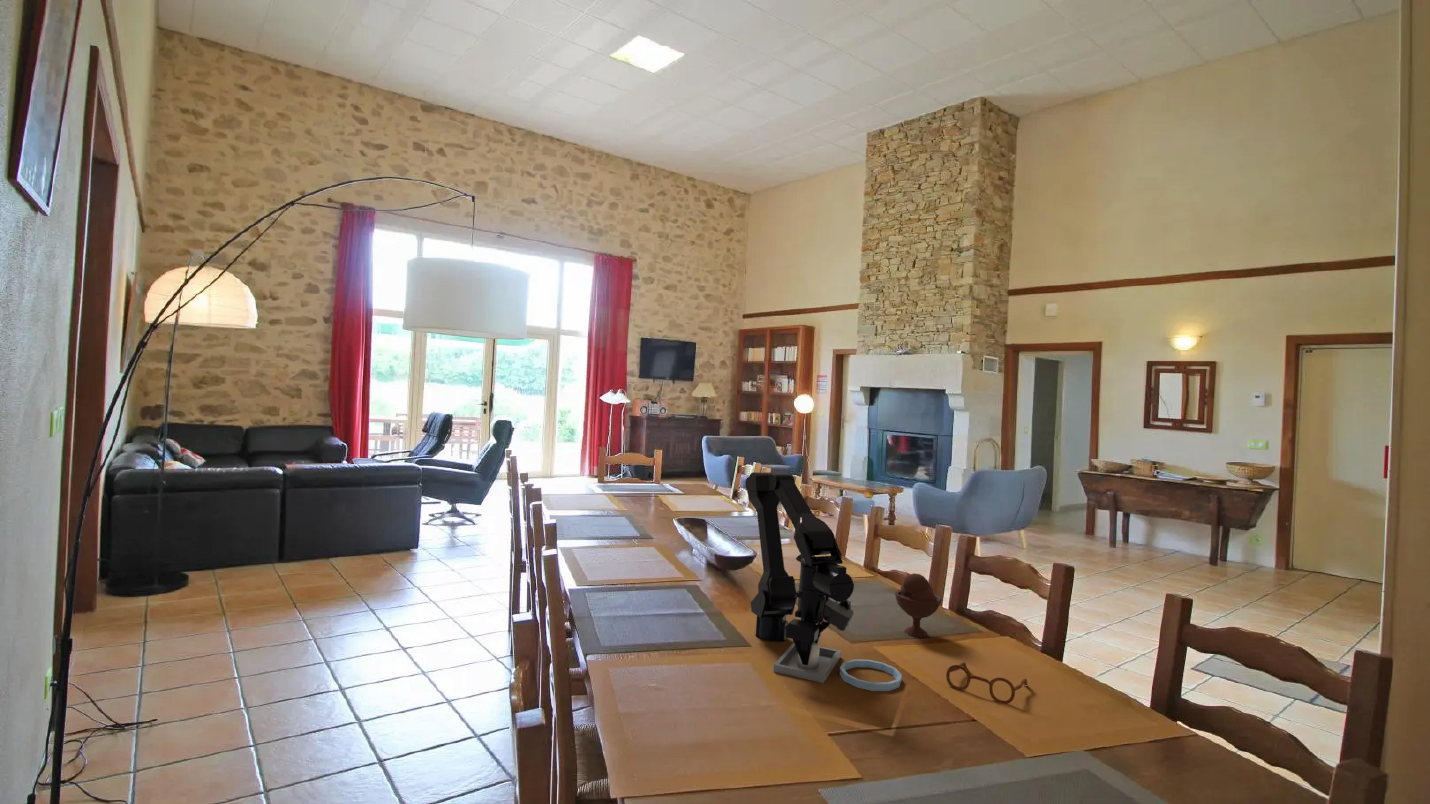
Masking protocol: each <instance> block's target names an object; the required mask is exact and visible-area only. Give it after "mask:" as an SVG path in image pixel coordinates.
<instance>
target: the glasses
mask: <svg viewBox="0 0 1430 804" xmlns="http://www.w3.org/2000/svg"><path fill="white" fill-rule="evenodd" d="M967 668H968V667H967V663H966V662H965V661H962V662H960V663H959V664H953V665H951V666H949V667H948V668H947V670H946V674H945V677H946V682H947V684H948V685H949V686H950V687H951V688H952V689H955V690H959V691H964V690H966V689H967V688H968V687H969V685H970V682H971V681H972V680H971V679H974V680H978V681H981V682H984V683H986V684H988V688H989V689H988V691H989V695H990V697H991V698H992V700H994V701H995V702H997V703H1000V704H1002V705H1007V704H1010V703H1012V702H1013V700H1014V699H1015V696H1016V691H1018V690H1019V689H1021V688H1022V687H1023V685H1024V686H1025V685H1028V679H1027V678H1024V679H1022V680H1021V682H1020V683H1019V684H1017V685H1015V686H1014V684H1013V683H1012V682H1011V681H1010V680H1008V678H1004V677H995V678H992V679H991V680H989V679H987V678H985V677H981V676H978V675H971V673H970V671H969V670H968V669H967ZM959 670H962V671H963V672H964V673H965V675H966V683H965V685H964V686H957V685H955V684H953V683H952V681H951V678H950V674H951V673H952V672H956V671H959ZM998 681H999V682H1004V683H1006V684H1007V685H1008V686H1009V688H1010V690H1011V694H1010V697H1009V699H1006V700H1002V699H999V698H998V697H996V695H995V694H994V692H993V691H994V690H993V687H994V684H995V683H996V682H998Z"/></svg>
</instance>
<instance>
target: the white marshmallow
mask: <svg viewBox="0 0 1430 804" xmlns="http://www.w3.org/2000/svg"><path fill="white" fill-rule="evenodd" d="M820 647H821V645H820V644H819V643H818V644H817V643H814V642H813V646H812V650H811V654H810V659H809V663H808V665H803V664H802V661H801V659H800V656H799V653H798V665H800V666H801V667H804V668H817V667H818V666H819V652H820Z"/></svg>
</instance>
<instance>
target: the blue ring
mask: <svg viewBox="0 0 1430 804" xmlns="http://www.w3.org/2000/svg"><path fill="white" fill-rule="evenodd" d="M854 668H868V669H869V668H870V669H875V670H877V671H882V672H885V673H887V674H889V675H891V676H892V677H893V678H894V679H893V680H891V681H888V682H873V681H868V680H863V679H859V678H857V677H855V676H852V675H851V674H849V673H848V672H847V670H850V669H854ZM839 676H840V677H841V678H842V680H843V682H846V683H847V684H850V685H851V686H853V687H856V688H858V689H862V690H863V689H864V690H867V691H871V692H889V691H893V690H895V689H898V688H900V686H901V683H902V678H903V676H902V673H901V672H900V671H899V670H898V669H897V668H896V667H893V666H892V665H890V664H887V663H885V662H881V661H877V660H872V659H856V658H855V659H851V660H847V661H844V662H842V663H841V665H840V667H839Z"/></svg>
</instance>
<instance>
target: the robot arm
mask: <svg viewBox="0 0 1430 804" xmlns="http://www.w3.org/2000/svg"><path fill="white" fill-rule="evenodd" d="M744 485H745V489H746V492H747V497H748V500H749V502H750V503H751V505H752V507H754V509H755V511H756V514H757V515H756V516H757V525H758V533H759V534H758V535H759V541H760V542H759V543H760V552H761V560H762V568H763V569H762V571H763V572H762V575H761V577H760V579H759V582H758V585H757V594H756V595H755V596H754V598H752V600H751V601H750V610H751V612H752V614H754V615H755V616H756V622H755V625H756V627H755V637H756V638H759V639H760V640H763V641H766V642H779V643H781V642H782V643H783V642H785V641H786V640H787V639H791V640H792V641H793V643H794V644H795V646H796V648H797V651H798V653H799V656H800V659H801V661H802V664H803V665H808V663H809V659H810V654H811V650H812V646H813V642H814V643H817V644H819V641H820V638H821V635H822V633H823V632H824V631H825V630H826V629H827V628H829V626H830V625H832V626H834V627H835V628H836V629H838V630H839V631H842V632H844V631H846V629H847V628H848V626H849V624H850V622H851V620H852V618H853V616H854V610H853V609H852V604H851V601H849V600H848V599H849V598H851V596H852V595H853V592H854V589H855V584H854V581H853V578H852V576H851V575H850V574H848V573H847V567H846V566H844V565H842V564H843V558H842V556H843V554H842V552H841V550H840V548H839V546H838V545H839V544H838V543H837V539H836V537H835V534H834V532H833V530H832V529H831V528H830V526H829V525H828V524H827V523H826V522H825V521H823V520H822V519H820V518H818V516H817V517H816V516H815V514H814V513H813V511H812V509H811V508H810V506H809V505H808V503H807V501H806V500H805V498H804V496H803V494H802V493H801V491H800V489H799V488H798V486H797V484H796V481H795V477H794V475H793V474H790V473H777V472H775V471H774V472H773V471H772V472H771V471H769V472H768V471H767V472H760V471H759V472H758V471H757V472H755V471H754V472H751V473H750V474H749V476H747V477H746V479H745V483H744ZM779 504H781V506H782V508H783V510H784V511H785V513H786V515H787V517H788V518H789V520H790V522H791V524H792V526H793V529H794V533H793V539H794V542H795V545H796V548H797V549H798V551H799V555H797V556H796V558H795V560H796V561H797V562H799V563H800V568H799V569H800V570H799V586H798V587H799V588H798V591H797V589H796V580H795V578H794V576H793V575H789V574H788V572H787V570H786V569H785V562H784V554H783V553H784V552H783V545H782V538H781V530H780V521H779V513H778V507H779ZM797 598H798V602H797ZM831 599H832V600H831ZM833 600H834V601H833ZM796 603H797V610H795V608H796V607H795V606H796ZM794 610H795V611H794ZM793 614H794V618H793V619H792V620H791V621H789V620H787V616H792V615H793ZM797 618H800V619H797Z"/></svg>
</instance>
